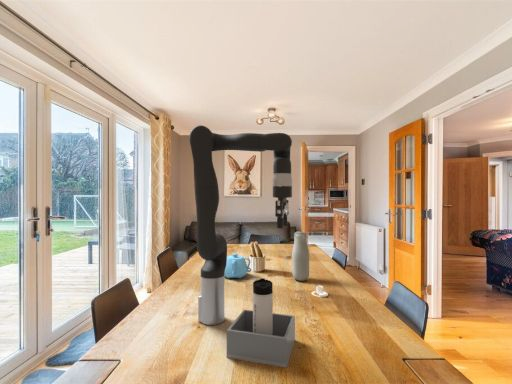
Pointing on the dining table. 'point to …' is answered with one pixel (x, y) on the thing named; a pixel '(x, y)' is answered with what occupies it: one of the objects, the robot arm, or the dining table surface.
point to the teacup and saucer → (320, 291)
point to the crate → (261, 340)
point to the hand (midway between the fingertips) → (282, 226)
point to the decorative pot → (236, 266)
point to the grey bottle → (300, 257)
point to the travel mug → (262, 307)
